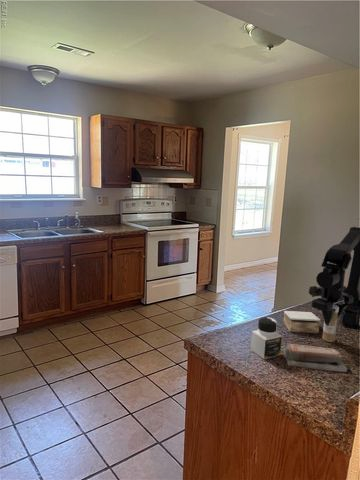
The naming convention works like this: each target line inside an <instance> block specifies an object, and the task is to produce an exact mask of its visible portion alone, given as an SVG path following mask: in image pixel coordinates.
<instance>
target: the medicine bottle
mask: <svg viewBox="0 0 360 480" xmlns="http://www.w3.org/2000/svg"><path fill="white" fill-rule="evenodd" d="M277 328H278V322H277V320H275V319H274V318H272V317H266V316H264V317H261V318H259V319H258V325H257V329H256V330H255V329H254V330H252V332H251V342H250V350H251V352H253V353H255V354H256V355H258V356H259V357H260V358H262V359H263V360H267V359H271V358H274V357H277V356H281V349H282V348H281V347H282V338H283V337H282V335H281V334H279V333H278V332H277Z"/></svg>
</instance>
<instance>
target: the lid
mask: <svg viewBox="0 0 360 480" xmlns="http://www.w3.org/2000/svg"><path fill="white" fill-rule="evenodd" d="M284 313H285V314H286V315H287V316H288V317H289V318H290V319H291V320H305V321H318V322H321V319H320V318H319V317H318V316H316V315H315V314H314V313H313V312H311V311H296V310H295V311H294V310H283V314H284Z"/></svg>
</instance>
